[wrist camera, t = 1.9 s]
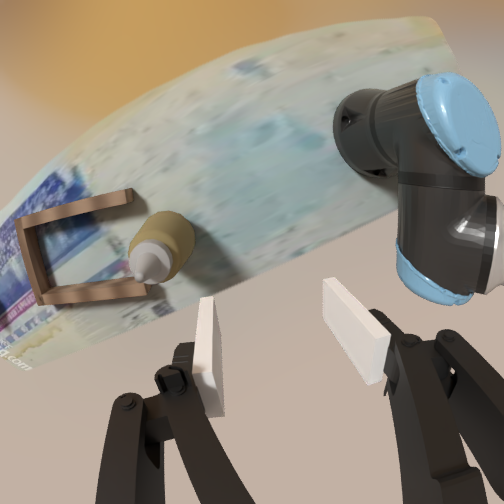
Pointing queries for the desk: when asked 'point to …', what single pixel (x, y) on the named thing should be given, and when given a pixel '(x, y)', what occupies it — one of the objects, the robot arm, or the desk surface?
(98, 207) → the bottle rest
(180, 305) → the desk surface
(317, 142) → the desk surface
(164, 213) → the squeeze bottle
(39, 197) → the desk surface
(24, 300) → the desk surface
